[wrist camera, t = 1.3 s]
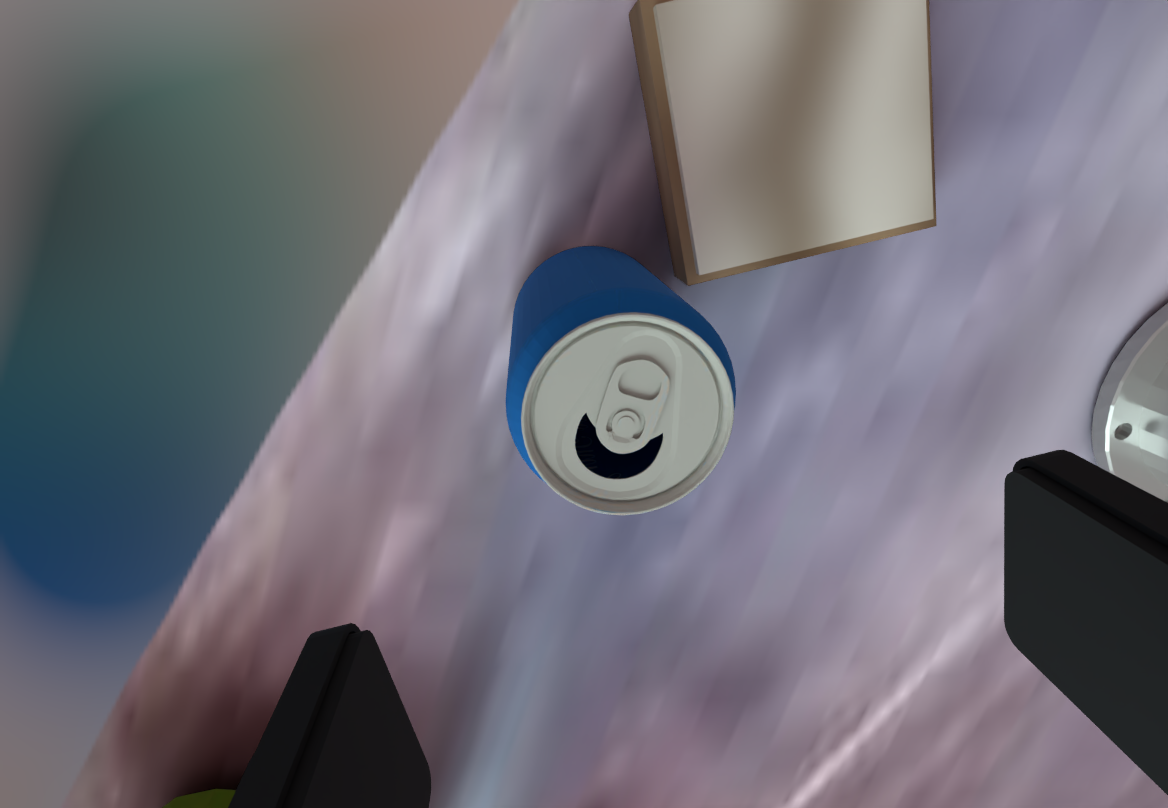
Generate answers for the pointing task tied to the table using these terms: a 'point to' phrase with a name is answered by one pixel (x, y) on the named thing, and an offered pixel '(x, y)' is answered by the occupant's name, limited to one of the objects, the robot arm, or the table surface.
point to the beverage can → (615, 384)
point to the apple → (203, 799)
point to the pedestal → (785, 126)
